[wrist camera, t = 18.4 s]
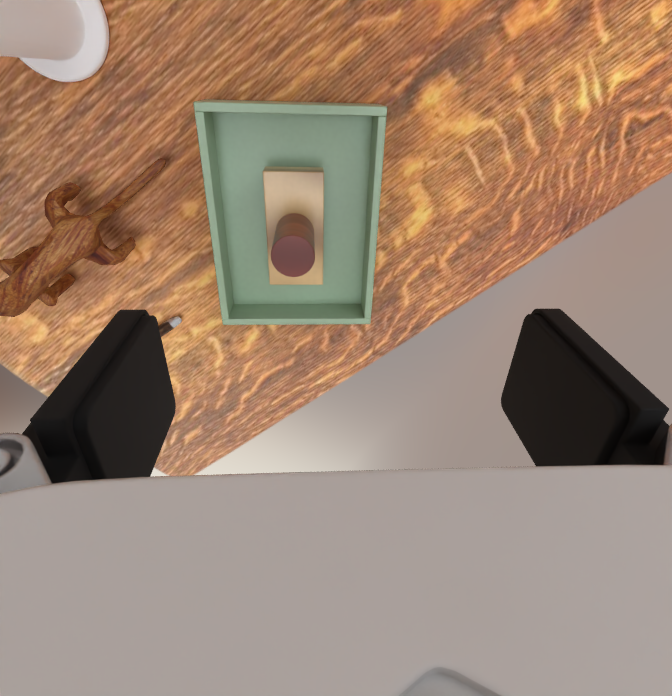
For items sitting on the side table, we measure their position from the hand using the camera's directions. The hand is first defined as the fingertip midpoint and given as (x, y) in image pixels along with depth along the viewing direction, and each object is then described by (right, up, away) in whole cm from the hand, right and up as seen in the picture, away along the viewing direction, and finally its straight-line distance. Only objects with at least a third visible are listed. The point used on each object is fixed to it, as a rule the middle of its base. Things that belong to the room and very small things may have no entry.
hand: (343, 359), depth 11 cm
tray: (-4, +12, +26) cm, 29 cm away
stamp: (-4, +11, +25) cm, 28 cm away
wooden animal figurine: (-21, +11, +26) cm, 35 cm away
